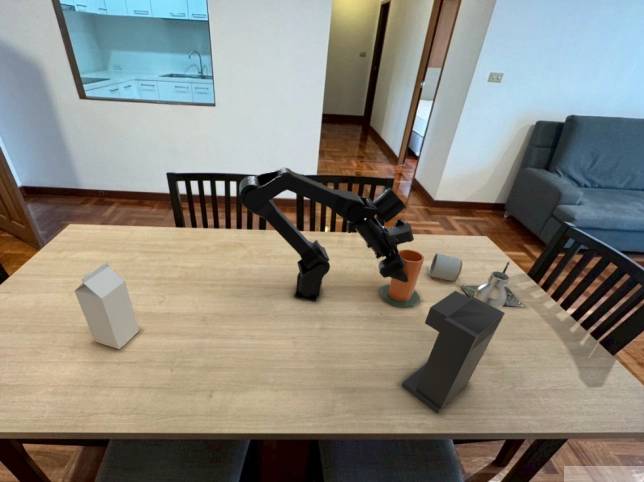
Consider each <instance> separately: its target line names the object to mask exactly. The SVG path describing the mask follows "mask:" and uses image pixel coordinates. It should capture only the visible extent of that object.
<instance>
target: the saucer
mask: <svg viewBox="0 0 644 482" xmlns="http://www.w3.org/2000/svg"><path fill="white" fill-rule="evenodd" d="M389 285H390V283H388V284H385V285H383V286H382V287H381V289H380V297H381V299H382V300H383V301H384V302H385V303H387V304H389V305H391V306H394V307H397V308H401V309H402V308H403V309H407V308H412V307H415V306H416V305H418V303H419V300H420V296H419V294H418V292H417V291H416V290H415V289H414V292H413V295H412V298H411V299H410V300H408V301H398V300H395V299H393V298H391V297H390V296H389V294H388V289H389Z"/></svg>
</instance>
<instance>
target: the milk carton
mask: <svg viewBox="0 0 644 482" xmlns="http://www.w3.org/2000/svg"><path fill="white" fill-rule="evenodd" d="M81 281H82V283H81V284H80V285H79V286H77V288H76V289H74V293H75V295H76V298H77V301H78V304H79V306H80V308H81V311H82V313H83V316H84V318H85V321H86V323H87V326H88V328H89V331H90V334H91V336H92V338H93V341H94V342H95V343H98V344H101V345H105V346H107V347H111V348H114V349H117V350H121V349H122V348H123V347H124V346H126V344H127V343H128V342H129V341H130V340H131V339H133V337H135V335H136V334H138V332H140V328H139V325H138V321H137V318H136V315H135V311H134V308H133V304H132V301H131V297H130V294H129V290H128V287H127V283H126V280H125V279H124V278H123V277H122V276H120V275H119V274H118V273H117V272H116V271H115V270H114V269H113V268H112V267H110V265H109V262H108V261H106V262H103V264H101V265H99V266H98V267H96V268H95V269H93V270H90V271H88V272H87V273H86V274H85V275H83V276H82V277H81Z"/></svg>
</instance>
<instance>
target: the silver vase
mask: <svg viewBox="0 0 644 482" xmlns="http://www.w3.org/2000/svg"><path fill="white" fill-rule="evenodd" d="M510 260H511V259H509V261H507V262H506V265H505V267H504V269H503V271H501V272H502V273H505V274H506V271H507V269H508V267H509V265H510ZM479 286H480V285H460V287H461V289H462V290H463V291H464V292H465V294H466V296H467V295H468V296H467V297H469V298H471V299H473V298H474V295H475V292H476V289H477V288H478V287H479ZM504 288H505V290H506V295H507V298H506V302H505V303H504V305H503V306H505V307H518V308H519V307H520V308H525V306H524V304H523V303H522V301H520V300H519V299H518V297H516V295H515V294H514V293H513V292H512V291H511V290H510V288H509V287H508V285H507V286H506V287H504ZM503 306H502V307H503Z"/></svg>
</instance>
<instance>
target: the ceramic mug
mask: <svg viewBox="0 0 644 482" xmlns="http://www.w3.org/2000/svg"><path fill="white" fill-rule="evenodd" d="M462 268H463V260H462V259H460V258H457V257H455V256H450V255H446V254H444V253H439V252H437V253H435V254H434V256H433V258H432V260H431V264H430V267H429V273H428V274H429V277H430V278H436V279H441V280H445V281H451V282H452V281H456V280H458V279H459V277H460V275H461V272H462V270H463V269H462Z"/></svg>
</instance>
